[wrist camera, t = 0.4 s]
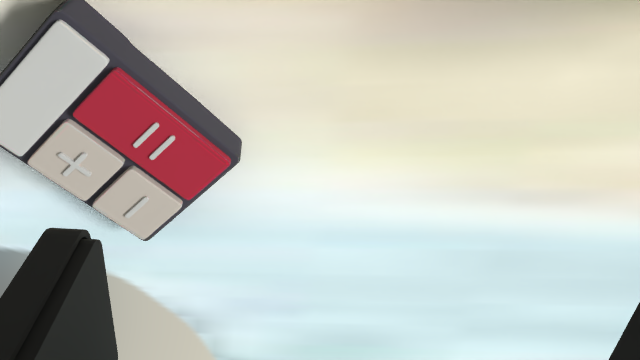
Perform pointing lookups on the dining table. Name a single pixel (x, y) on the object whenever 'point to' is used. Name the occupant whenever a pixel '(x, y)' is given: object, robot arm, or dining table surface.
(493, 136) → the dining table surface
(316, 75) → the dining table surface
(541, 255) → the dining table surface
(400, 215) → the dining table surface
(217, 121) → the calculator
